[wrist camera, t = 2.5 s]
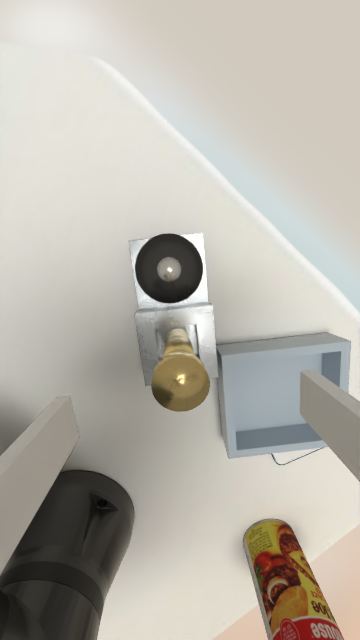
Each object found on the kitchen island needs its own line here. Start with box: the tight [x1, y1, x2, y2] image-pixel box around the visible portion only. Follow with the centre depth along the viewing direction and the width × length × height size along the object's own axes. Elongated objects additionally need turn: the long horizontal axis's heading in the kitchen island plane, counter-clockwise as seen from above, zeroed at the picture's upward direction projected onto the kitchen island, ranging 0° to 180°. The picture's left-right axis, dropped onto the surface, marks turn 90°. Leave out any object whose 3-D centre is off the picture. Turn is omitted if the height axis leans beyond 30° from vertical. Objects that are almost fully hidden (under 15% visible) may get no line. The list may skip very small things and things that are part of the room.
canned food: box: [243, 519, 344, 640], centre depth 28 cm, size 8×8×12 cm
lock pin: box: [151, 329, 210, 411], centre depth 20 cm, size 4×4×10 cm
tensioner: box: [129, 233, 218, 386], centre depth 24 cm, size 16×8×4 cm, turn 6°
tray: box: [216, 332, 351, 459], centre depth 26 cm, size 14×13×4 cm
